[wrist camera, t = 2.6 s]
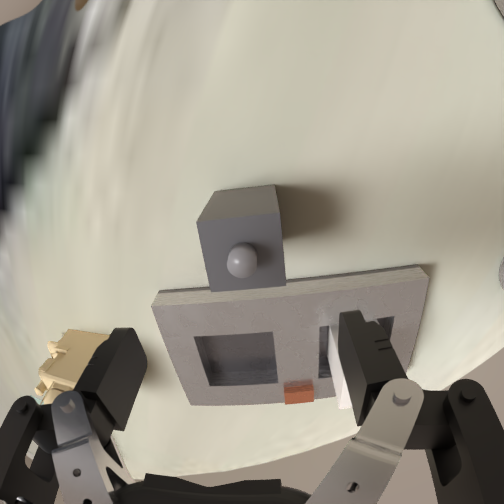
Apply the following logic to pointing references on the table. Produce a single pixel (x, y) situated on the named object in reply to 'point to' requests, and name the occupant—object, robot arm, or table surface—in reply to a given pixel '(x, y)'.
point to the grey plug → (242, 239)
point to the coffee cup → (501, 274)
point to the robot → (67, 362)
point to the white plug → (338, 368)
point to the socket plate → (280, 333)
